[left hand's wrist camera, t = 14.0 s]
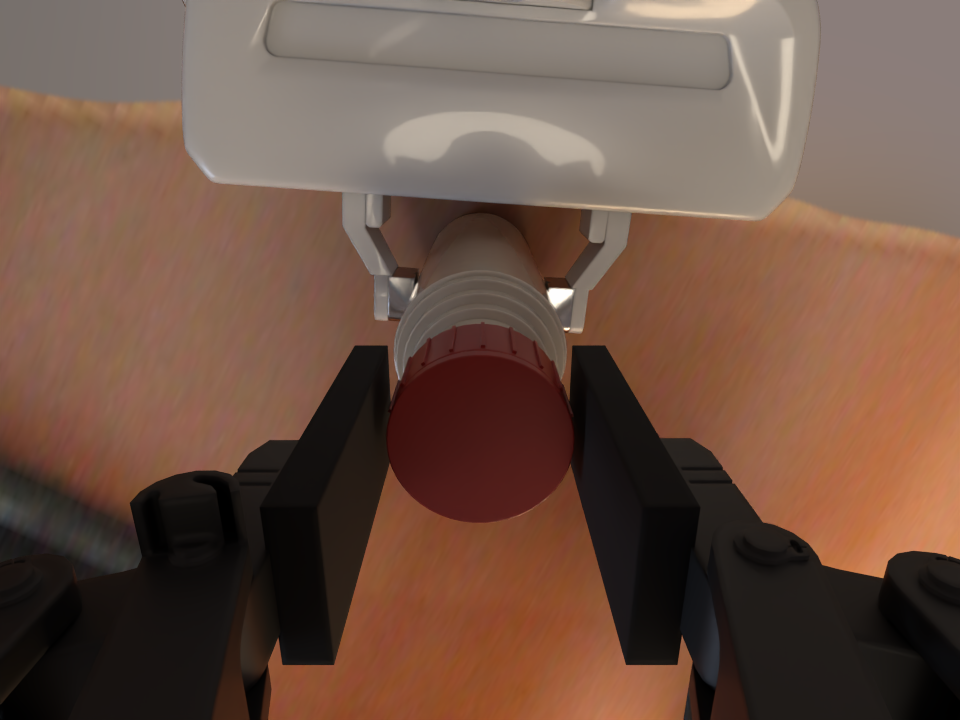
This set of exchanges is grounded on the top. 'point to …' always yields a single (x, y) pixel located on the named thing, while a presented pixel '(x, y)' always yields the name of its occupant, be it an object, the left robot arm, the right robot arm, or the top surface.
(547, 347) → the bottle
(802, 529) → the top surface
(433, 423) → the cap
